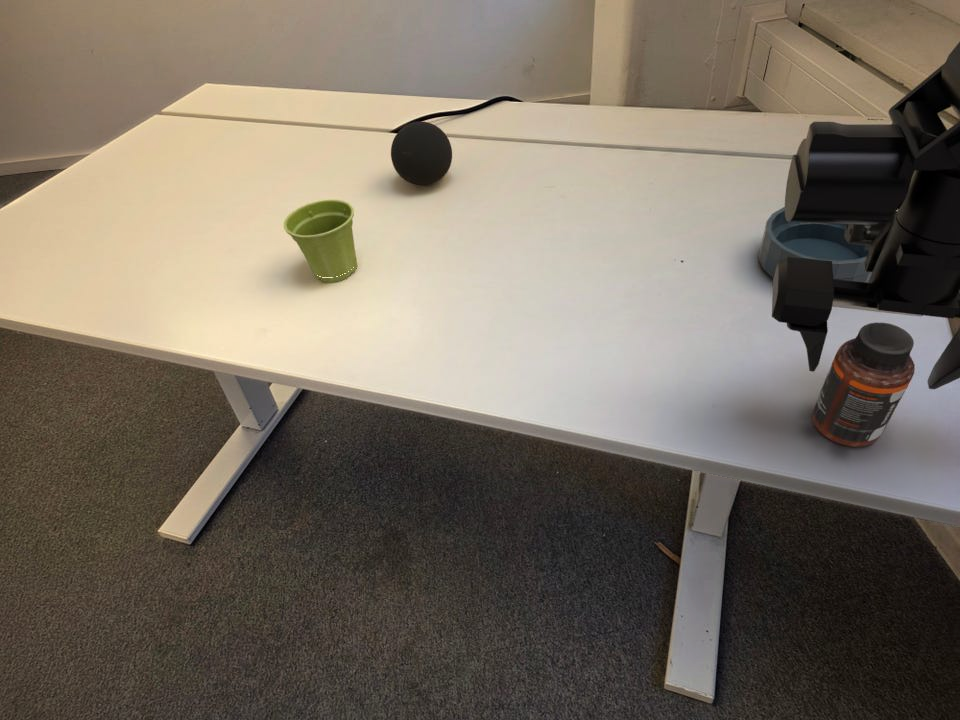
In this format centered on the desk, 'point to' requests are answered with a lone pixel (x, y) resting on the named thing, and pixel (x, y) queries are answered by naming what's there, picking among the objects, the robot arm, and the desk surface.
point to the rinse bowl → (812, 247)
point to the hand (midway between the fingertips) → (869, 376)
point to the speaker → (421, 153)
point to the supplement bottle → (865, 385)
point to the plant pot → (325, 237)
